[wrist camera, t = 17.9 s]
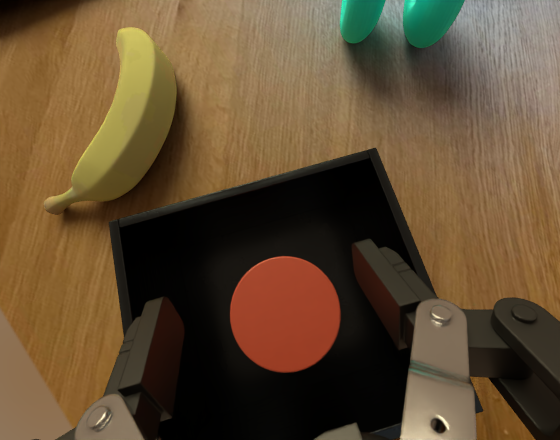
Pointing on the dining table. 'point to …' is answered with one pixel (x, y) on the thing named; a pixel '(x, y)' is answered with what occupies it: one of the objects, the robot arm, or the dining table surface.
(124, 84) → the banana
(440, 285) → the dining table surface
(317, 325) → the striped red cylinder
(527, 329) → the robot arm
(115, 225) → the bin
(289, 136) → the dining table surface
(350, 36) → the green wheel pair
